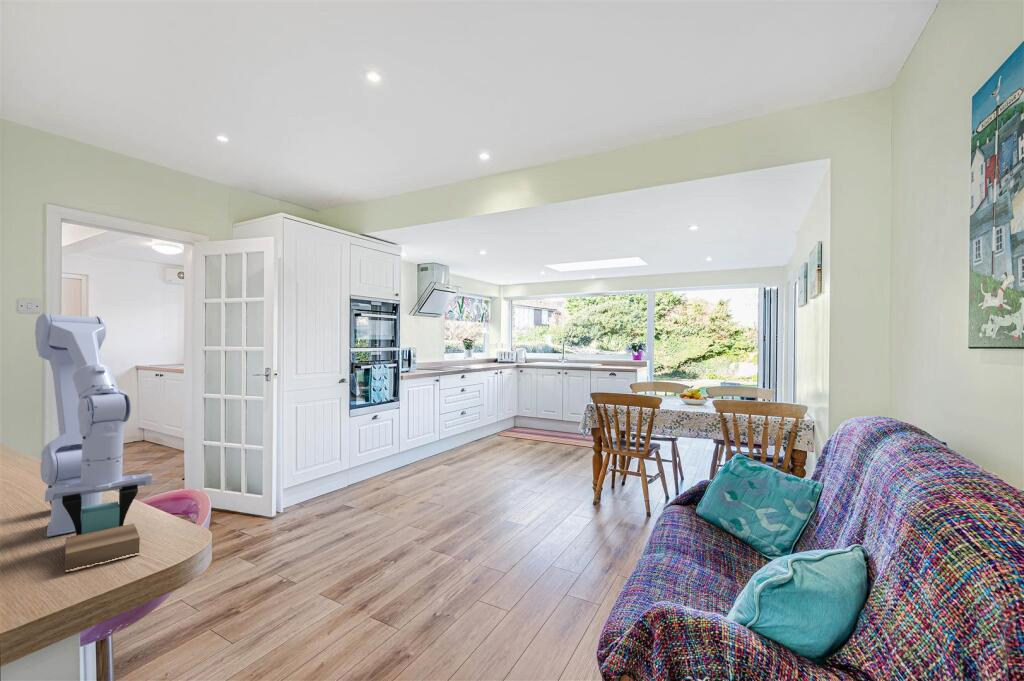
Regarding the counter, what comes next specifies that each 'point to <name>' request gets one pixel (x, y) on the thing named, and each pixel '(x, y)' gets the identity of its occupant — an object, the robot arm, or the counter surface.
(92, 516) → the teal block
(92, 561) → the walnut plinth
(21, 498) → the counter surface
